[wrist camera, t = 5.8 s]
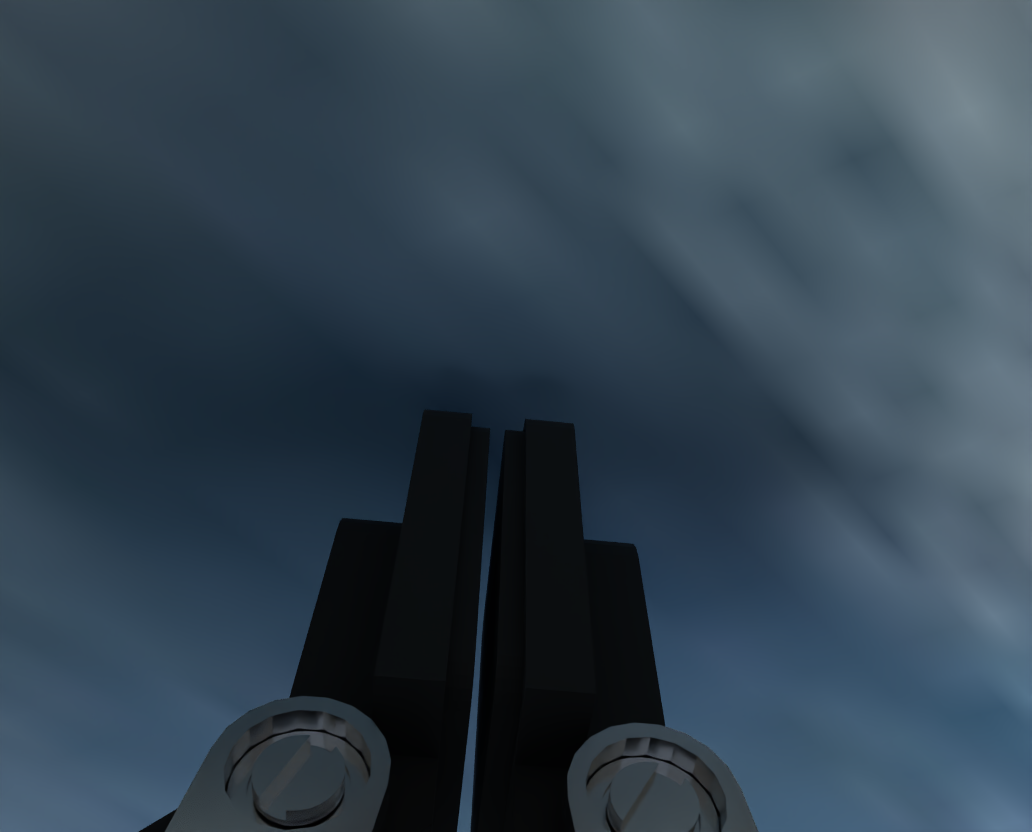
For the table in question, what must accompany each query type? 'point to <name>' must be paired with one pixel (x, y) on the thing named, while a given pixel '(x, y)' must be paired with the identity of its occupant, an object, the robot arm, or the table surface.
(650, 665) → the robot arm
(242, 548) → the table surface
